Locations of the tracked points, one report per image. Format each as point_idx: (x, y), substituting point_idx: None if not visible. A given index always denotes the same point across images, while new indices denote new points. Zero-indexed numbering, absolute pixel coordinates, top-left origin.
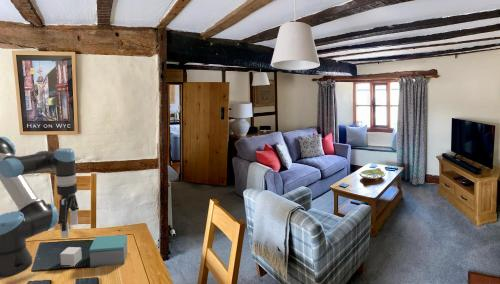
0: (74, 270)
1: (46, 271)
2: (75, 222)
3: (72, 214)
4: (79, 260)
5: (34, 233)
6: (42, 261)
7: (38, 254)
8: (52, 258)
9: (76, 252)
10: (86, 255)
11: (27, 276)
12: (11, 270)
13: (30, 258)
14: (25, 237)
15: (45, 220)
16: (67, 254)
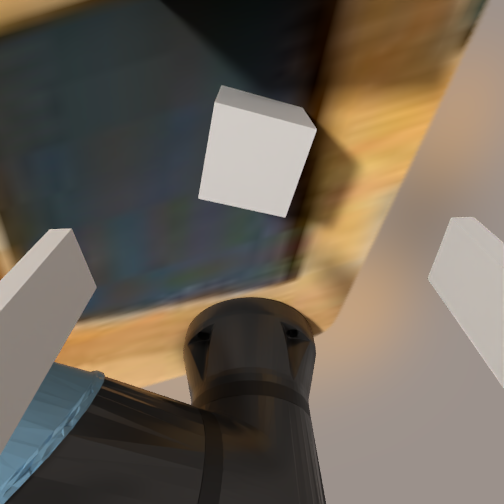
0: (350, 92)
1: (315, 229)
2: (65, 261)
3: (6, 392)
4: (248, 93)
5: (197, 417)
6: (219, 270)
7: (157, 301)
8: (196, 242)
9: (280, 117)
10: (170, 66)
11: (334, 280)
12: (312, 339)
13: (241, 319)
14: (243, 430)
15: (113, 469)
16: (300, 172)
